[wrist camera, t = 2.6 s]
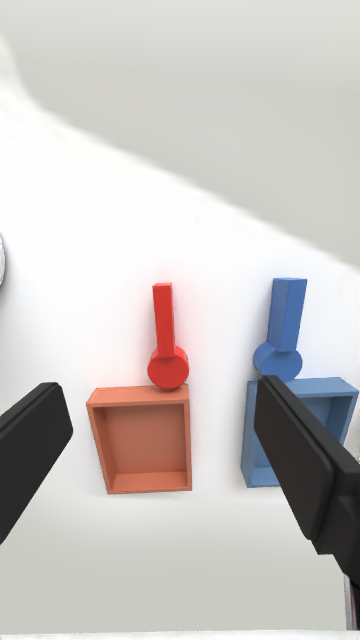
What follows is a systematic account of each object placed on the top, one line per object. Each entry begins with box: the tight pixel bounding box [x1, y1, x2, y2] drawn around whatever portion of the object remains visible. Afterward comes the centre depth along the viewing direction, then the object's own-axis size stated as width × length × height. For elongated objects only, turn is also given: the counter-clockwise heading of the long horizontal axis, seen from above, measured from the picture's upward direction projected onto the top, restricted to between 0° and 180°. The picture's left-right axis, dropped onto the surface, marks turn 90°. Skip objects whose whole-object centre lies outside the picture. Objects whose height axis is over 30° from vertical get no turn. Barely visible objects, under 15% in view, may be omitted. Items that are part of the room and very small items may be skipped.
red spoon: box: [148, 283, 189, 389], centre depth 18 cm, size 11×4×3 cm, turn 3°
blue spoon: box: [253, 278, 307, 383], centre depth 18 cm, size 11×4×3 cm, turn 3°
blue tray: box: [241, 377, 359, 488], centre depth 22 cm, size 15×11×2 cm
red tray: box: [86, 384, 192, 494], centre depth 22 cm, size 15×11×2 cm
